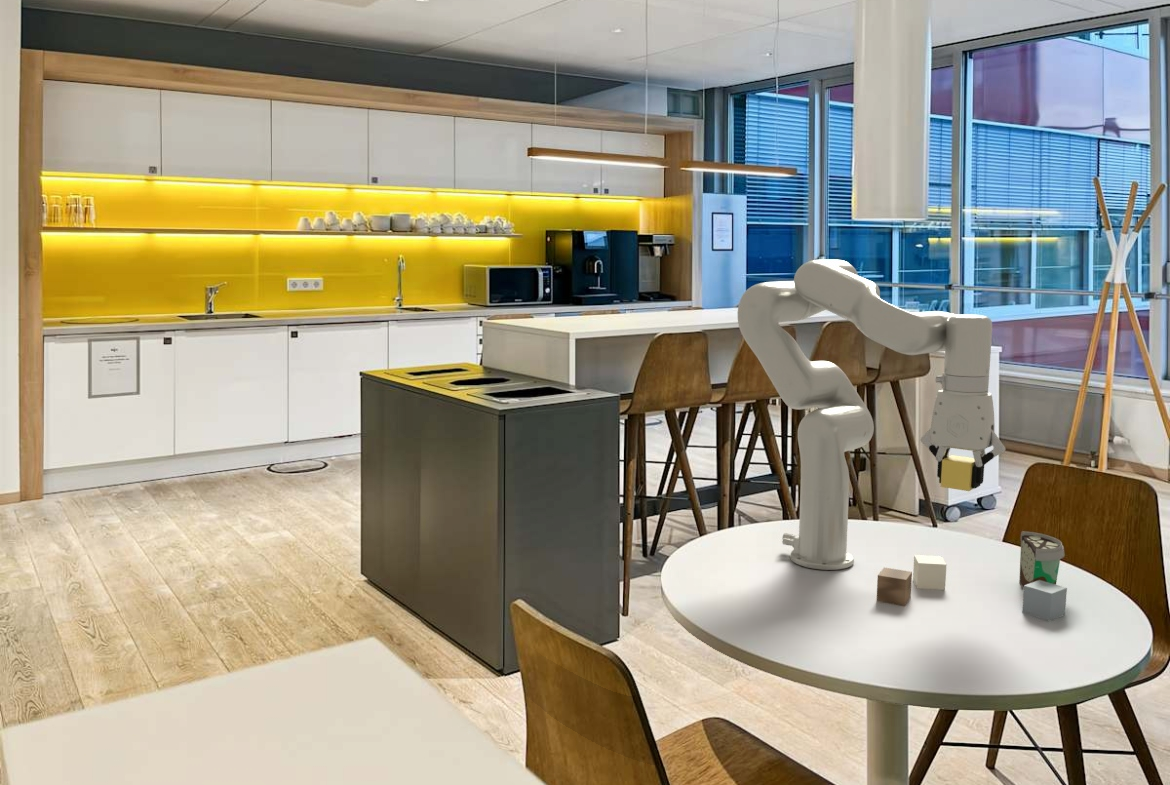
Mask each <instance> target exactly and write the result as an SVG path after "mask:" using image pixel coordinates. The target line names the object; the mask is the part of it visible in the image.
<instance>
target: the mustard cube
mask: <svg viewBox="0 0 1170 785" xmlns="http://www.w3.org/2000/svg"><path fill="white" fill-rule="evenodd" d="M974 464H975V460H974V457H967V456H960V455H953V454H951V455H948V456H947V458H945V459H943V460H942V473H941V483H940V487H941V488H946V489H953V490H959V491H965V492H970V491H972V490H975V489H974V488H972V487H971V481H972V467H973V466H974Z"/></svg>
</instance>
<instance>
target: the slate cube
mask: <svg viewBox="0 0 1170 785" xmlns="http://www.w3.org/2000/svg"><path fill="white" fill-rule="evenodd" d="M1067 590H1068V587H1065V586H1063V585H1059V584H1057V583H1056V584H1052V583H1049V582H1045V581H1042V580H1038V581H1035V582H1032V583H1030V584H1027V585H1024V590H1023V594H1022V596H1023V597H1022V609H1021V612H1022V613H1023V614H1026V615H1029V616H1032V617H1036V618H1038V619H1040V620H1046V621H1048V622H1051V621H1054V620H1056V619H1058V618H1060V617H1063V616H1065V614H1066V605H1067V593H1068V592H1067Z"/></svg>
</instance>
